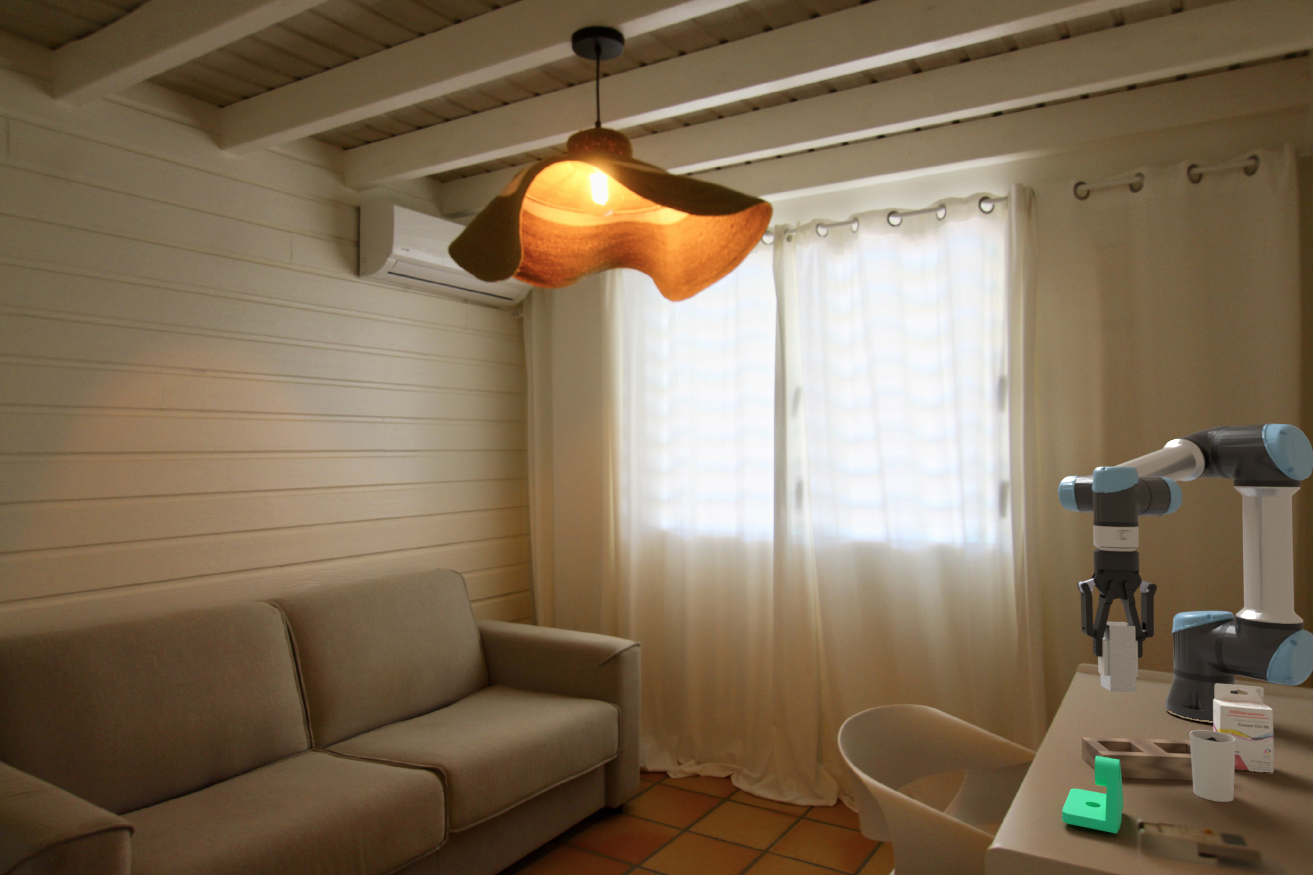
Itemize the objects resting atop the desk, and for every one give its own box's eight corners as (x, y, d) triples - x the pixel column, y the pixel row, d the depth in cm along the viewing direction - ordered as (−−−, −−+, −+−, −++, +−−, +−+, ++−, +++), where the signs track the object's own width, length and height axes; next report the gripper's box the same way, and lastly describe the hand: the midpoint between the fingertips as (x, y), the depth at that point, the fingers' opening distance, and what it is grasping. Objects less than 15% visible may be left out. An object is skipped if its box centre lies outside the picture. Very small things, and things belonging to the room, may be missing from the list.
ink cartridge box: (1220, 768, 159) (1218, 688, 159) (1213, 760, 163) (1211, 682, 164) (1275, 774, 156) (1273, 692, 156) (1266, 765, 161) (1264, 685, 161)
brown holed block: (1192, 761, 163) (1192, 740, 163) (1221, 781, 153) (1220, 758, 153) (1081, 758, 165) (1081, 737, 165) (1103, 776, 155) (1102, 754, 155)
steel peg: (1125, 685, 162) (1124, 621, 162) (1136, 692, 157) (1135, 626, 158) (1100, 685, 162) (1099, 621, 162) (1110, 691, 158) (1109, 625, 158)
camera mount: (1071, 803, 143) (1070, 741, 144) (1123, 813, 139) (1122, 749, 140) (1061, 829, 133) (1060, 762, 134) (1117, 840, 129) (1115, 771, 130)
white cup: (1182, 787, 150) (1181, 729, 150) (1221, 787, 149) (1219, 729, 150) (1205, 802, 143) (1204, 742, 143) (1246, 803, 143) (1244, 742, 143)
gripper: (1074, 550, 158) (1076, 678, 157) (1175, 551, 156) (1177, 680, 155) (1059, 546, 165) (1061, 668, 164) (1156, 547, 163) (1158, 671, 162)
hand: (1118, 674), depth 160 cm, fingers closed on steel peg, 4 cm apart
